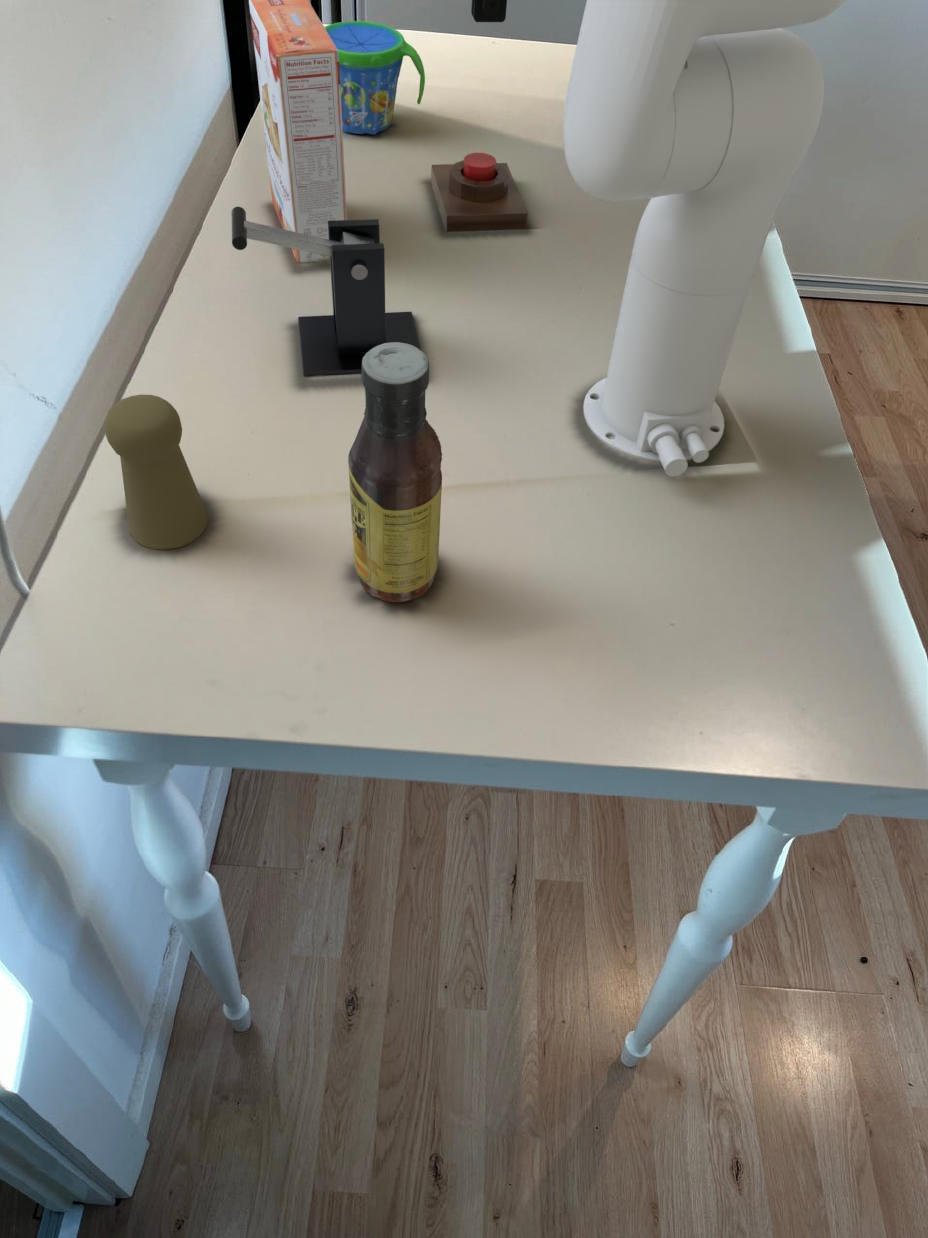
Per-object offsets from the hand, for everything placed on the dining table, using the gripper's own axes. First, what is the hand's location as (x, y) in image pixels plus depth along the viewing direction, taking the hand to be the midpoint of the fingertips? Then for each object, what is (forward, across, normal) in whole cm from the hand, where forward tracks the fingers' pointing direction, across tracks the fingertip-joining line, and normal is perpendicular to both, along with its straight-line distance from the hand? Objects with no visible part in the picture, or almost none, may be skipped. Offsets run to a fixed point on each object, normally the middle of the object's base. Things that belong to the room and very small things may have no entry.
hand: (488, 18), depth 94 cm
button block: (+19, 0, 0) cm, 19 cm away
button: (+16, 0, 0) cm, 16 cm away
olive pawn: (+19, -48, +33) cm, 62 cm away
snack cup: (+20, +22, +11) cm, 31 cm away
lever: (+9, -27, +21) cm, 35 cm away
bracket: (+19, -28, +16) cm, 37 cm away
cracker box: (+19, -6, +19) cm, 28 cm away
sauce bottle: (+19, -56, +16) cm, 62 cm away
